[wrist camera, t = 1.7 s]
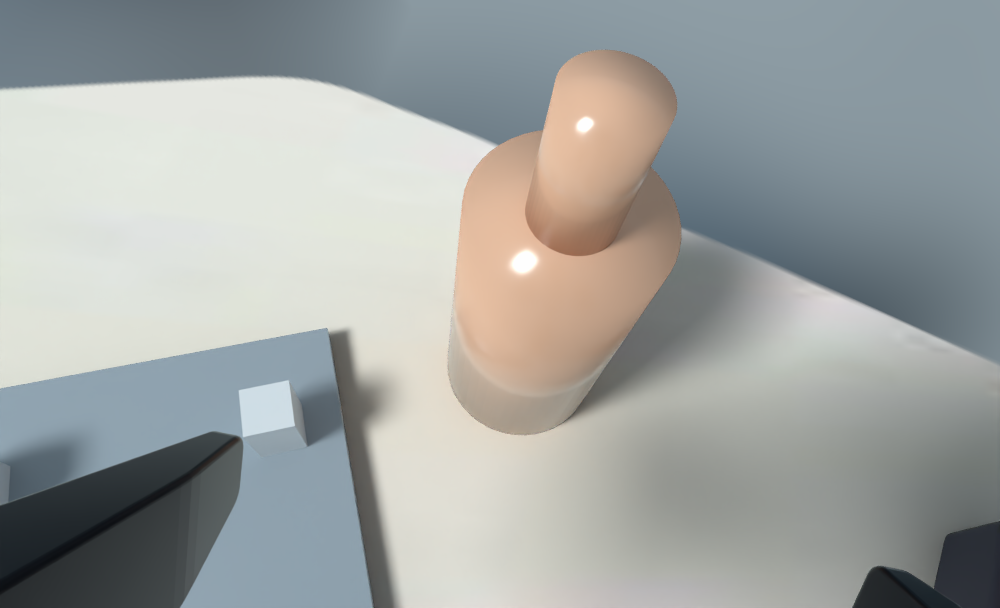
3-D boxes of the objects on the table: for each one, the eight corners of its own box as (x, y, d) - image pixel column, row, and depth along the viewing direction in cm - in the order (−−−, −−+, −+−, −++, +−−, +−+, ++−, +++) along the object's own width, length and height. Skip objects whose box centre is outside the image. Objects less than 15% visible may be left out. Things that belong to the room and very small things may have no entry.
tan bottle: (616, 362, 25) (804, 99, 13) (527, 466, 23) (652, 269, 11) (511, 276, 26) (589, -37, 14) (417, 367, 24) (412, 88, 12)
